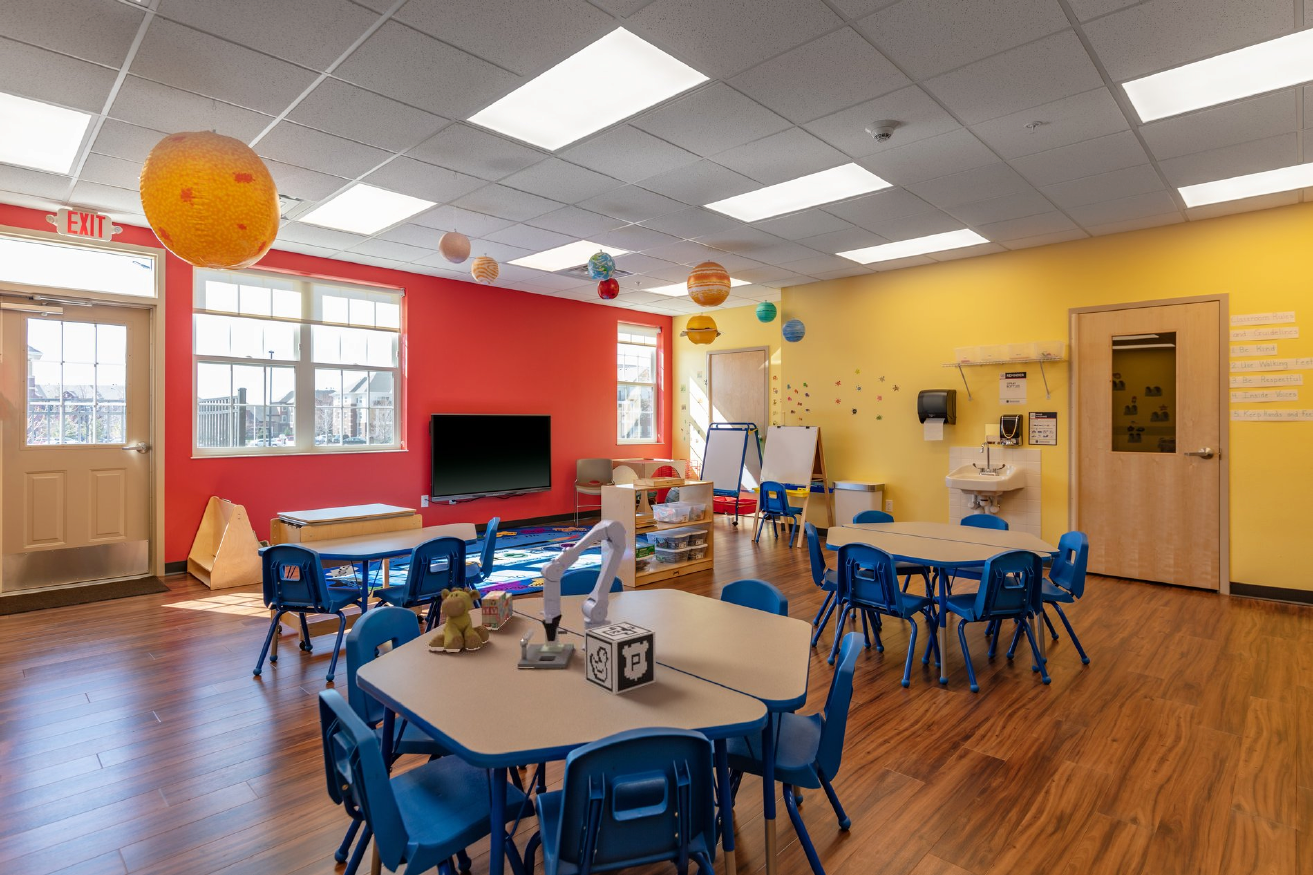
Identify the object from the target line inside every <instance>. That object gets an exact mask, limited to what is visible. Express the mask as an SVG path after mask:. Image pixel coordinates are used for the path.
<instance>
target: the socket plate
mask: <svg viewBox="0 0 1313 875" xmlns="http://www.w3.org/2000/svg"><path fill="white" fill-rule="evenodd" d="M527 646H528V645H526V646H521V645H520V647H521V658H520V659H519V661H518V663H517V668H518V667H534V668H546V669H548V670H550V669H556V670H557V669H559V670H561V669H566V668H567V666H568V663H569V661H570V658H571V656H572V654H573V652H574V648H575V644H574V643H559V645H558V647H545V643H544V644H543V643H542V644H541V643H535V644H534V643H532V644H531V643H530V644H529V646H528V647H527ZM541 660H554V661H541Z"/></svg>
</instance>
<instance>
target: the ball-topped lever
mask: <svg viewBox="0 0 1313 875" xmlns="http://www.w3.org/2000/svg"><path fill="white" fill-rule="evenodd" d="M534 634H535V627H530V628H528V629H527V631H526V632H525V634H524V635H523V637H522V638H521V639H520V640H519V645H520V647H521V646H526V645H527V646H528V643H529V642H530V640H531V638H532V637H533V635H534Z"/></svg>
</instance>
